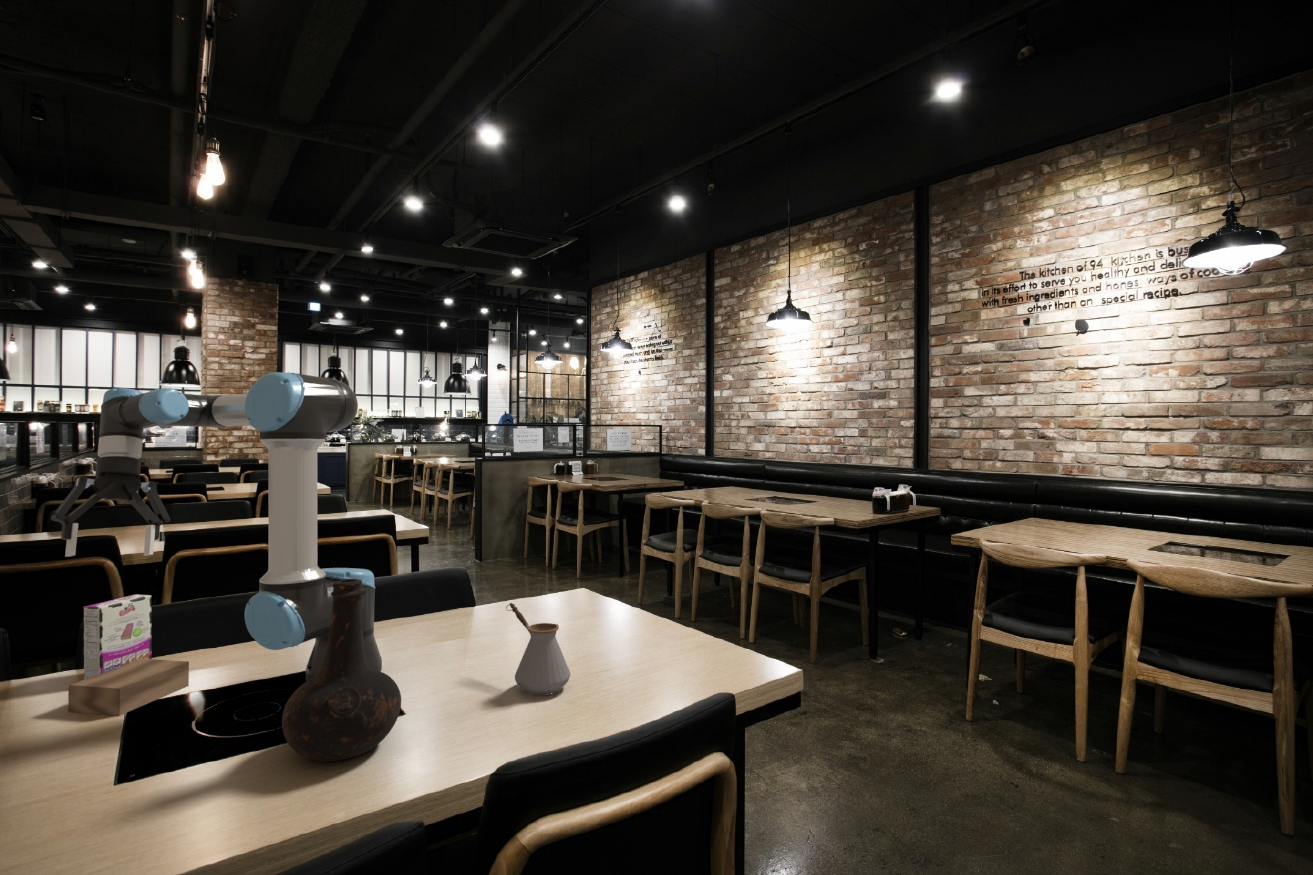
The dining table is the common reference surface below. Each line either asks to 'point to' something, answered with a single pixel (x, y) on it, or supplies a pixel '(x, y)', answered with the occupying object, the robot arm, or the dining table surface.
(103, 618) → the candy bar box
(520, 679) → the coffee pot
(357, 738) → the brown bottle vase
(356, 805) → the dining table surface
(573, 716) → the dining table surface
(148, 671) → the walnut plinth
